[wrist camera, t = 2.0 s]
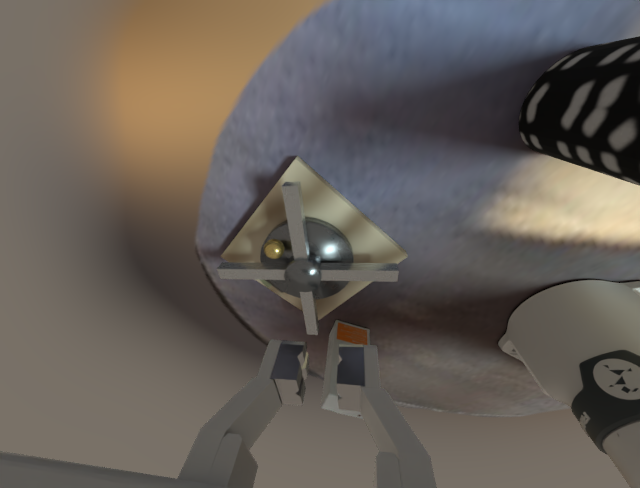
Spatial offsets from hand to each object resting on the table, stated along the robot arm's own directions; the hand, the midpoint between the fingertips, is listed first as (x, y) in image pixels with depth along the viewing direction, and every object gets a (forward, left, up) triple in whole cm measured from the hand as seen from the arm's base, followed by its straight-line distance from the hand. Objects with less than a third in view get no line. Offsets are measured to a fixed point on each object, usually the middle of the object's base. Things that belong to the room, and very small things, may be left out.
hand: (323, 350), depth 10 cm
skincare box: (-18, +18, -21) cm, 33 cm away
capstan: (-3, +10, -20) cm, 22 cm away
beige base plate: (-3, +10, -21) cm, 24 cm away
